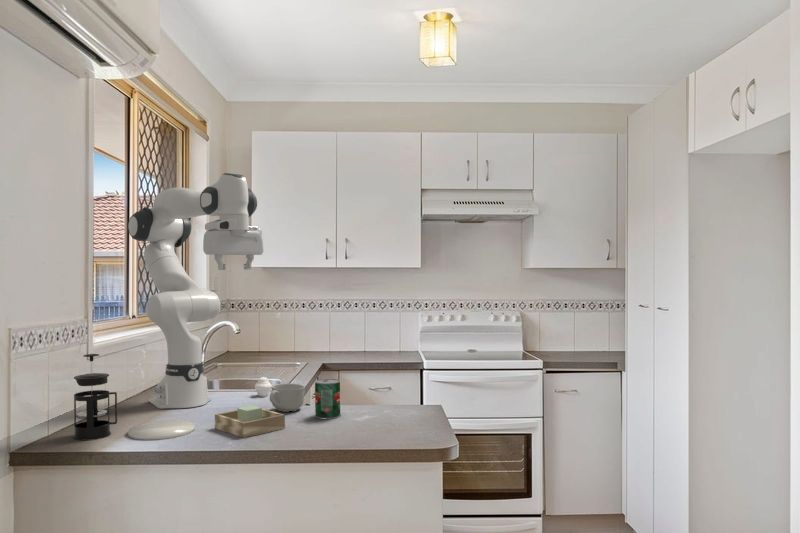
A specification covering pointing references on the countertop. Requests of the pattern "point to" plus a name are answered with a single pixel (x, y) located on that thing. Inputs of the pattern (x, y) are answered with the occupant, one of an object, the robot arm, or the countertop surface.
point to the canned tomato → (327, 398)
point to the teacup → (287, 396)
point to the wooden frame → (249, 423)
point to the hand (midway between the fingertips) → (234, 269)
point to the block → (249, 413)
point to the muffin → (263, 387)
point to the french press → (92, 406)
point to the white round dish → (161, 430)
